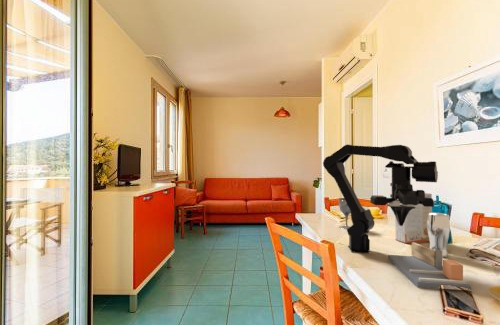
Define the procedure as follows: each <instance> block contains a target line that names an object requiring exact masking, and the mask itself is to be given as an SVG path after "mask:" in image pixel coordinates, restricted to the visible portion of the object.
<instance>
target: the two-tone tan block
mask: <svg viewBox="0 0 500 325" xmlns="http://www.w3.org/2000/svg"><path fill="white" fill-rule="evenodd" d="M411 256H414V257H416V258H418V259H420V260H422V261H424V262H426V263H429V264H431V265H433V266H436V251H434V250H432V249H429V247H427V246H424V245H423V244H419V243H415V242H412V243H411Z"/></svg>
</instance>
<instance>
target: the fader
mask: <svg viewBox="0 0 500 325" xmlns="http://www.w3.org/2000/svg"><path fill="white" fill-rule="evenodd" d="M442 266H443V275H445V276H446V277H447V278H449V279H450V280H462V281H464V265H463V264H461V263H460V262H458V261H456V260H455V259H442Z"/></svg>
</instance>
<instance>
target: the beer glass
mask: <svg viewBox="0 0 500 325" xmlns="http://www.w3.org/2000/svg"><path fill="white" fill-rule="evenodd" d="M450 227H451V220H450V215H449V214H448V213H441V212H432V213H427V232H428V237H429V242H428V246H429V247H428V248H429V249H432V250H434V251H436V250H442V258H449V251H448V241H449V236H450V231H451V228H450Z"/></svg>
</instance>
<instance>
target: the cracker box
mask: <svg viewBox="0 0 500 325" xmlns="http://www.w3.org/2000/svg"><path fill="white" fill-rule="evenodd" d="M425 197H429V198H432V199H433V196H432V193H427V192H425ZM397 200H399V199H397ZM400 204H402V203H400ZM414 207H416V208H415V209H412V210H410V211H409V213H408V215H407V217H406V219H405V221H404V224H403V226H400V225H399V224H398V221H397V219H396V217H395V216H394V218H395V241H397V240H398V242H400V241H401V242H400V243H403V242H404V244H412V242H415V243H417V244H419V243H429V237H428V232H427V213H433V209H432V208H433V207H425V206H423V205H422V204H418V205H414Z"/></svg>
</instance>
